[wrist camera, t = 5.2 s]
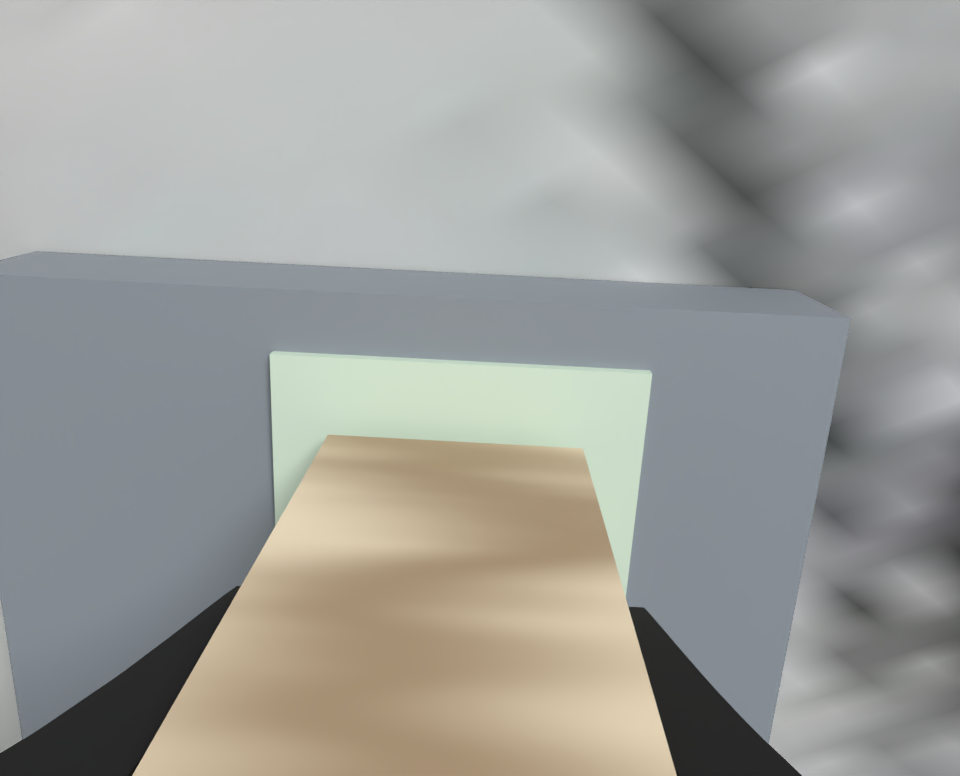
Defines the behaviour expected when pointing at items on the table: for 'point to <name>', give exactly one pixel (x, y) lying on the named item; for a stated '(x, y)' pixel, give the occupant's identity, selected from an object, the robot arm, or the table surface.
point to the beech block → (424, 628)
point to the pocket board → (391, 414)
